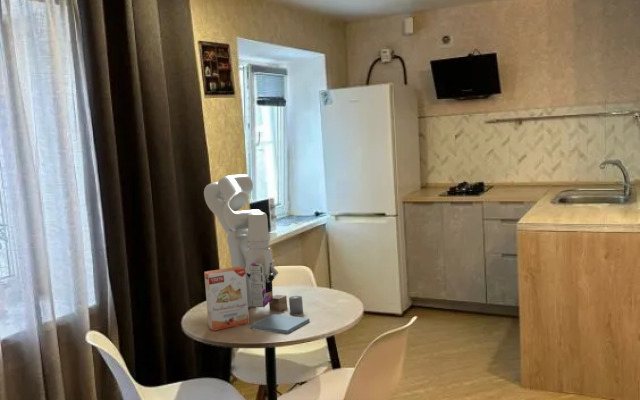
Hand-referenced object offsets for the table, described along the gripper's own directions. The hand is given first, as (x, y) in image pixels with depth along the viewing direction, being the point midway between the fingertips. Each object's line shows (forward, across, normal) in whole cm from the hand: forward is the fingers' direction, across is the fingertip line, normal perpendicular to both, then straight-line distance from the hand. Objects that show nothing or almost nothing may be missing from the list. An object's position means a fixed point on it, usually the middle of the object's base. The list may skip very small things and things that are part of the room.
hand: (262, 290), depth 218 cm
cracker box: (+10, -4, -16) cm, 19 cm away
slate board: (+9, +14, -9) cm, 19 cm away
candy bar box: (+5, 0, 0) cm, 5 cm away
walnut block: (+10, +1, +8) cm, 13 cm away
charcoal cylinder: (+9, +11, +6) cm, 16 cm away
